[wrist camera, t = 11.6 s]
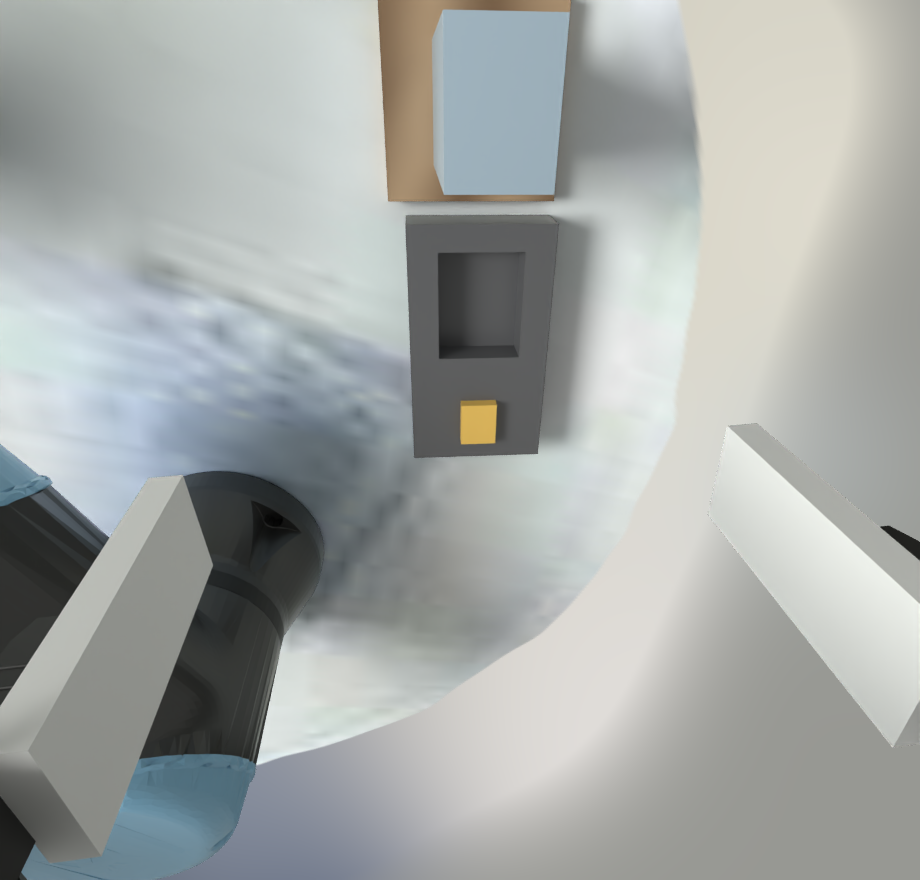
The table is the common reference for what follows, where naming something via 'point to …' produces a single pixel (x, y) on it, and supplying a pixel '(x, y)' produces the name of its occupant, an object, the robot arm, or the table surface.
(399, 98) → the walnut board
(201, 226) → the table surface
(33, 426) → the table surface
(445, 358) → the dark grey holder
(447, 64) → the light blue tall block
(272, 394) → the table surface
